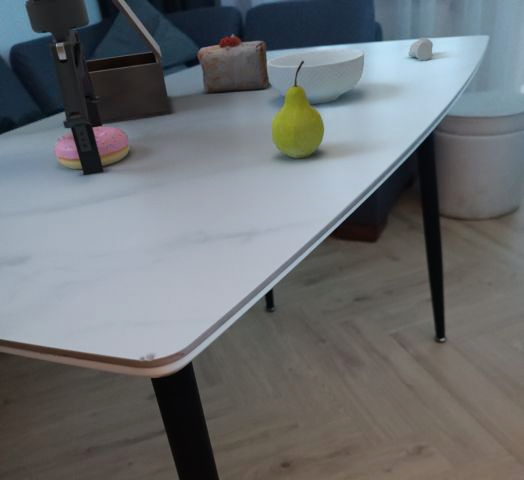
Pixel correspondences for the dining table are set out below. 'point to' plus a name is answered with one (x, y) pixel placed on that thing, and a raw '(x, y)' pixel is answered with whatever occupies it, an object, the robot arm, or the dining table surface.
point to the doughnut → (108, 143)
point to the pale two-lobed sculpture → (421, 49)
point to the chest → (129, 87)
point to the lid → (138, 27)
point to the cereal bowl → (317, 73)
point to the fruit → (297, 124)
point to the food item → (234, 65)
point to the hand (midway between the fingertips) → (96, 159)
